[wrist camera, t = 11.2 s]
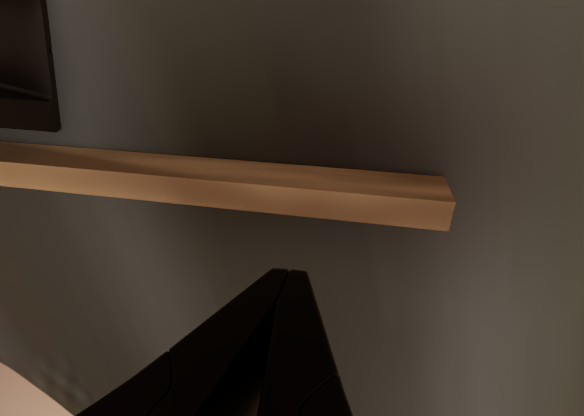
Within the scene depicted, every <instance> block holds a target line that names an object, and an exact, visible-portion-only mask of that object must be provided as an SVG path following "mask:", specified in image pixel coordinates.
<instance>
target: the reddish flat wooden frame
mask: <svg viewBox="0 0 584 416" xmlns="http://www.w3.org/2000/svg"><path fill="white" fill-rule="evenodd" d="M0 186H8V187H18V188H28V189H37V190H47V191H57V192H67V193H77V194H87V195H96V196H106V197H116V198H126V199H136V200H145V201H155V202H165V203H175V204H185V205H194V206H204V207H214V208H224V209H234V210H243V211H253V212H263V213H273V214H283V215H293V216H302V217H312V218H322V219H332V220H342V221H351V222H361V223H371V224H381V225H391V226H400V227H410V228H420V229H430V230H440V231H449V228H450V224H451V220H452V216H453V212H454V208H455V204H456V202H455V200H454V197H453V195H452V193H451V191H450V189H449V186H448V184H447V182H446V180H445V178H444V177H443V176H431V175H418V174H406V173H393V172H380V171H368V170H355V169H343V168H330V167H318V166H305V165H293V164H280V163H268V162H255V161H243V160H230V159H217V158H205V157H192V156H180V155H167V154H155V153H142V152H130V151H117V150H105V149H92V148H80V147H67V146H54V145H42V144H29V143H17V142H4V141H0Z"/></svg>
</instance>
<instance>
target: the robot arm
mask: <svg viewBox="0 0 584 416" xmlns="http://www.w3.org/2000/svg"><path fill="white" fill-rule="evenodd" d="M76 416H353V415H352V412H351V409H350V406H349V403H348V400H347V398H346V395H345V392H344V389H343V386H342V382H341V379H340V376H339V375H338V370H337V367H336V364H335V360H334V357H333V354H332V351H331V347H330V344H329V341H328V338H327V334H326V331H325V328H324V325H323V321H322V318H321V315H320V312H319V308H318V305H317V302H316V299H315V295H314V292H313V289H312V286H311V283H310V279H309V276H308V273H307V272H306V271H302V270H290V272H289V270H288V269H280V268H272V269H271V270H269V271H268V272H267V273H266V274H264V275H263V276H262V277H260V278H259V279H258V280H257V281H255V282H254V283H253V284H252V285H250V286H249V287H248V288H246V289H245V290H244V291H243V292H241V293H240V294H239V295H238V296H236V297H235V298H234V299H232V300H231V301H230V302H229V303H227V304H226V305H225V306H224V307H222V308H221V309H220V310H218V311H217V312H216V313H215V314H213V315H212V316H211V317H209V318H208V319H207V320H206V321H204V322H203V323H202V324H201V325H199V326H198V327H197V328H195V329H194V330H193V331H192V332H190V333H189V334H188V335H187V336H185V337H184V338H183V339H181V340H180V341H179V342H178V343H176V344H175V345H174V346H173V347H171V348H170V349H169V352H165V353H163V354H162V355H161V356H160V357H158V358H157V359H156V360H154V361H153V362H152V363H151V364H149V365H148V366H147V367H145V368H144V369H143V370H141V371H140V372H139V373H137V374H136V375H135V376H133V377H132V378H131V379H129V380H128V381H126V382H125V383H123V384H122V385H120V386H119V387H118V388H116V389H115V390H113V391H112V392H110V393H109V394H107V395H106V396H104V397H103V398H102V399H100V400H98V401H97V402H95V403H94V404H92V405H91V406H89V407H88V408H86V409H85V410H83V411H82V412H80V413H79V414H77V415H76Z"/></svg>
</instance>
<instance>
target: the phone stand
mask: <svg viewBox="0 0 584 416" xmlns="http://www.w3.org/2000/svg"><path fill="white" fill-rule="evenodd" d="M50 47H52V46H51V38H50V29H49V21H48V12H47V4H46V0H0V128H11V129H23V130H35V131H47V132H57V131H59V129H60V127H61V123H60V114H59V106H58V97H57V89H56V80H55V72H54V63H53V55H52V54H51V53H50V51H49V49H50Z"/></svg>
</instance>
